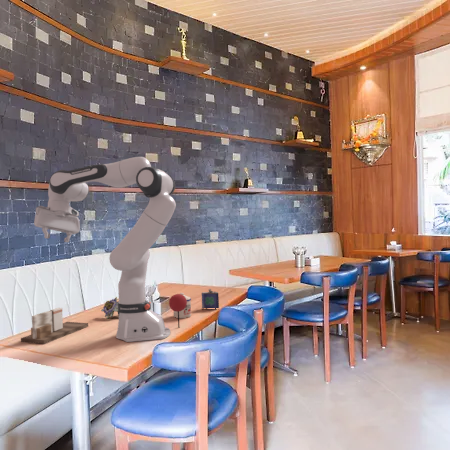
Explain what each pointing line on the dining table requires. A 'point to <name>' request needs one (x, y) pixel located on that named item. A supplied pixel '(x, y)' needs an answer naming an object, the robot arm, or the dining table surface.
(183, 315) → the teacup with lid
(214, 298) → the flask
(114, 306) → the passion flower
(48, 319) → the board
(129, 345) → the dining table surface
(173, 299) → the lollipop
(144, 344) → the dining table surface
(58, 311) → the white striped box
